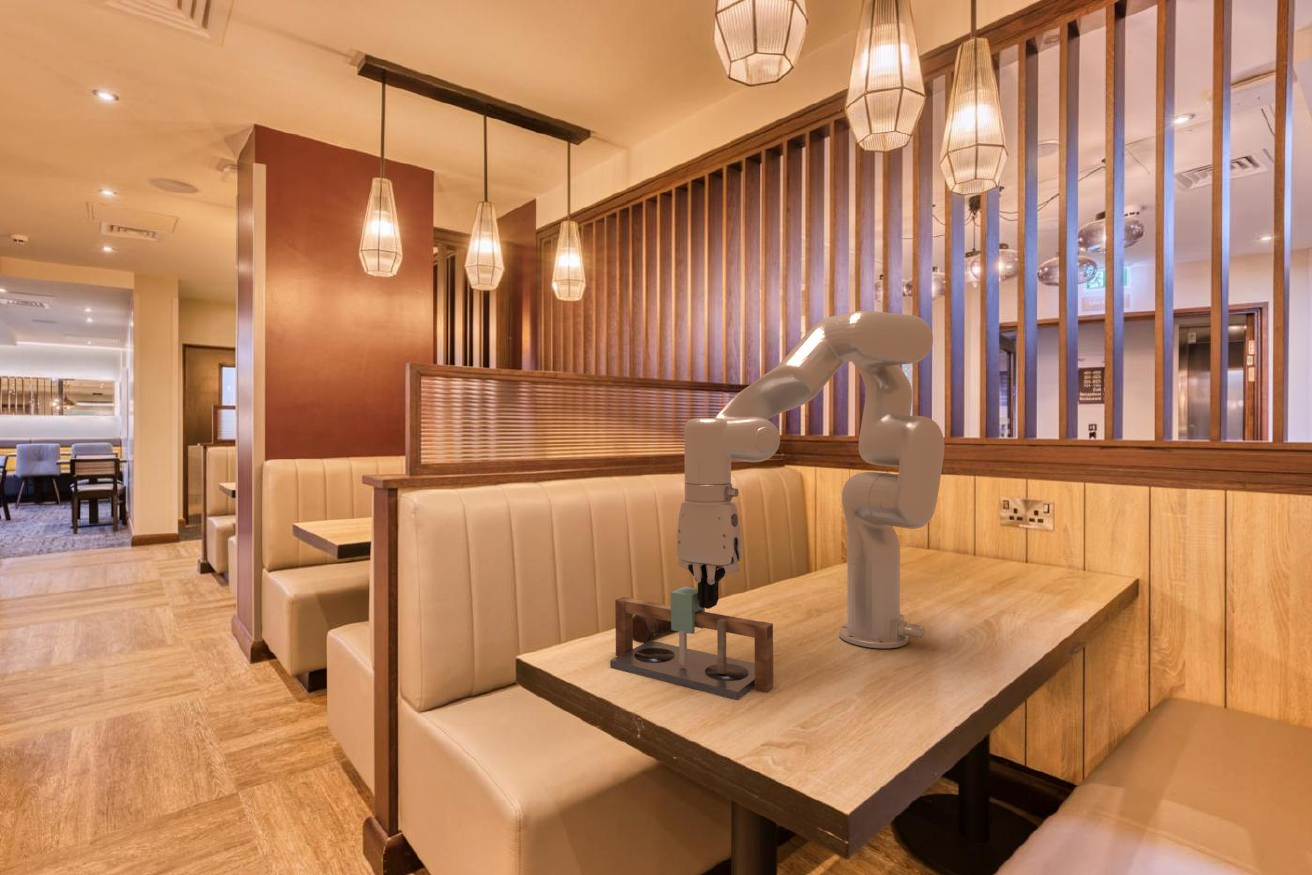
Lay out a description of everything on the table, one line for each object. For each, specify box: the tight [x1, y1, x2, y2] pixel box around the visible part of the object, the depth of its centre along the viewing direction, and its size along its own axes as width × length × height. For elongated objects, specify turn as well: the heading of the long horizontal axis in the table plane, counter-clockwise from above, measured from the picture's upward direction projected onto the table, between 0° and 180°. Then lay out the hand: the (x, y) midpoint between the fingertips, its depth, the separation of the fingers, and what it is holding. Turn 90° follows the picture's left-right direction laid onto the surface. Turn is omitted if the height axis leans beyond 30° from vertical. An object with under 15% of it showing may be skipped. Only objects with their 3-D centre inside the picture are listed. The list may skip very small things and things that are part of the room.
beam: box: [614, 596, 774, 693], centre depth 108 cm, size 29×3×10 cm, turn 56°
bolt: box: [633, 614, 672, 644], centre depth 129 cm, size 6×5×15 cm
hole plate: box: [609, 640, 755, 701], centre depth 109 cm, size 24×12×1 cm, turn 56°
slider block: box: [670, 586, 706, 665], centre depth 109 cm, size 4×4×12 cm
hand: (708, 606), depth 106 cm, fingers closed
